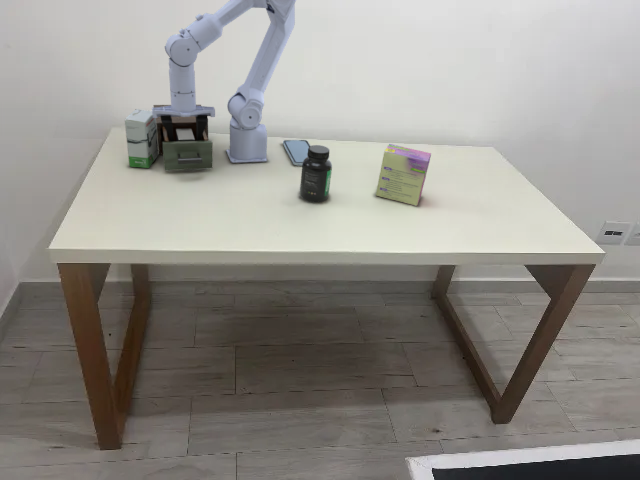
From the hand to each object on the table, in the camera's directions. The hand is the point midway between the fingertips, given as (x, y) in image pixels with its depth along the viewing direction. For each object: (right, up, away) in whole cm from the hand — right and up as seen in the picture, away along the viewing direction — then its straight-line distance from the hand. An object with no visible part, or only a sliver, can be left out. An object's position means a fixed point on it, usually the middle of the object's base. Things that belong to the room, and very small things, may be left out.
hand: (185, 144), depth 124 cm
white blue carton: (0, -2, +1) cm, 3 cm away
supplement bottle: (+32, -14, -6) cm, 35 cm away
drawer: (0, -4, 0) cm, 4 cm away
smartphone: (+28, 0, +14) cm, 31 cm away
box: (+53, -13, -2) cm, 54 cm away
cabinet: (-4, +2, +12) cm, 13 cm away
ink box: (-11, -4, +1) cm, 11 cm away
